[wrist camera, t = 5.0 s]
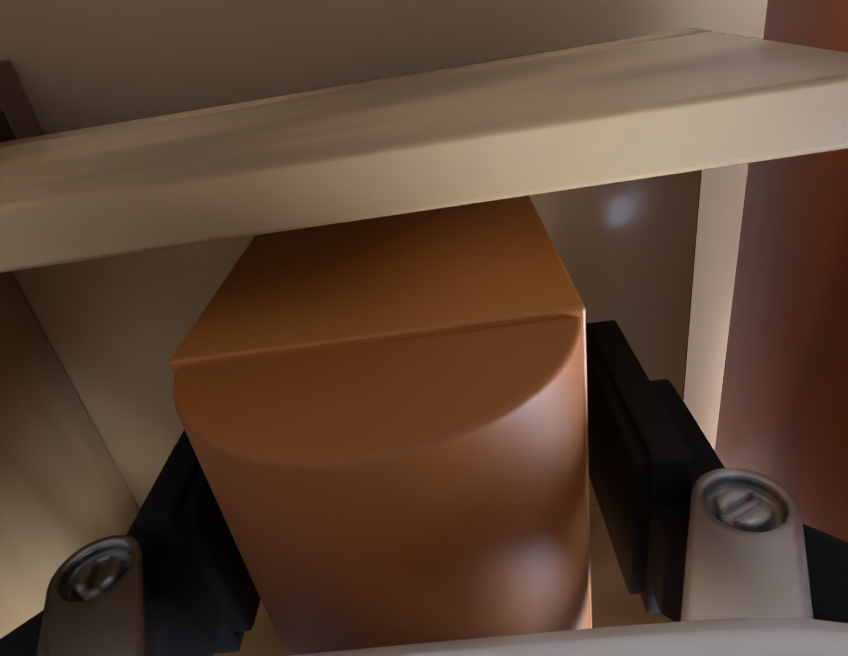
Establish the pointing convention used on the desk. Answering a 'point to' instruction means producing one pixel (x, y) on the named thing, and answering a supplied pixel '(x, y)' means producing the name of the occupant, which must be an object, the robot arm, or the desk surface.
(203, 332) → the brown rounded block
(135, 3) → the desk surface
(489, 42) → the desk surface
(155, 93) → the desk surface
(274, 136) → the drawer
